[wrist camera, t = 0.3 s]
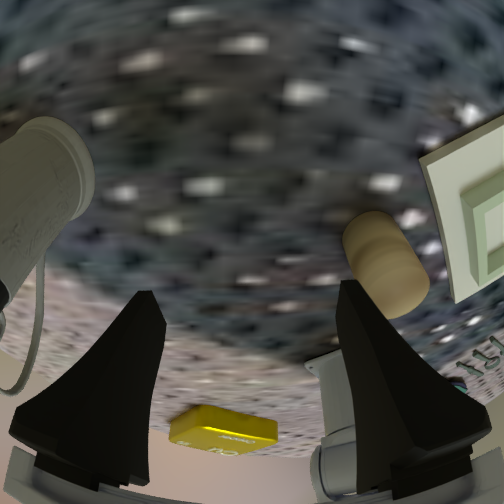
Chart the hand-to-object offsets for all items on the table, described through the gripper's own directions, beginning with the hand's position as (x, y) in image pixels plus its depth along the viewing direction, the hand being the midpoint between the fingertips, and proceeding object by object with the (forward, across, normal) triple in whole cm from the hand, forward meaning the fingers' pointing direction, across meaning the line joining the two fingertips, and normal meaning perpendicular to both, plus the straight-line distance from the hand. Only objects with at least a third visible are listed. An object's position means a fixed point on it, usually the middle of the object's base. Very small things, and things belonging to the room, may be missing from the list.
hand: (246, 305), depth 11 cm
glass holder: (+10, +15, -1) cm, 18 cm away
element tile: (+10, +9, +43) cm, 45 cm away
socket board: (+10, -21, +2) cm, 23 cm away
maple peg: (+10, -8, +4) cm, 13 cm away
